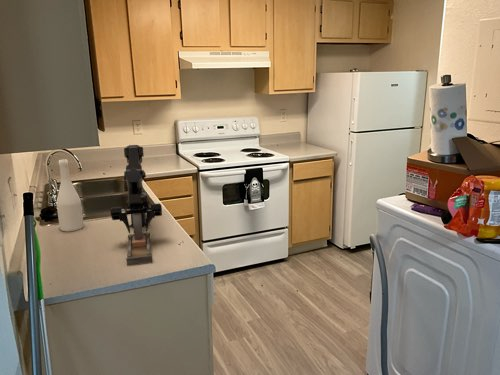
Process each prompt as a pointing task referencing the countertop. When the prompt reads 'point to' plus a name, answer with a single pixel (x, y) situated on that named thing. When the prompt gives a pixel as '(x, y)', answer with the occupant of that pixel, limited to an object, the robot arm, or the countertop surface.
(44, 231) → the countertop surface
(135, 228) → the carriage
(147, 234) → the guide rail
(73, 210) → the wine bottle
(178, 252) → the countertop surface
